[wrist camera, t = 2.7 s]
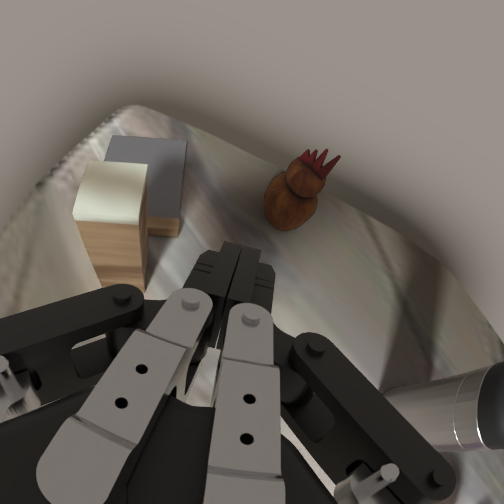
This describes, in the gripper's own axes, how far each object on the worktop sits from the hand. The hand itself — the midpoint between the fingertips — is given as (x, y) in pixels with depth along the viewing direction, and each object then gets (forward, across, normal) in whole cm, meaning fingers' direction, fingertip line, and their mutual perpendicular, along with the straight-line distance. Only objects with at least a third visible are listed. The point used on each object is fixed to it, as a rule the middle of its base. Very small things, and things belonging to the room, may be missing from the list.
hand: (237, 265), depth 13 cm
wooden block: (+17, +13, +15) cm, 26 cm away
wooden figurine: (+31, -3, +10) cm, 33 cm away
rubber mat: (+29, +17, +7) cm, 34 cm away
